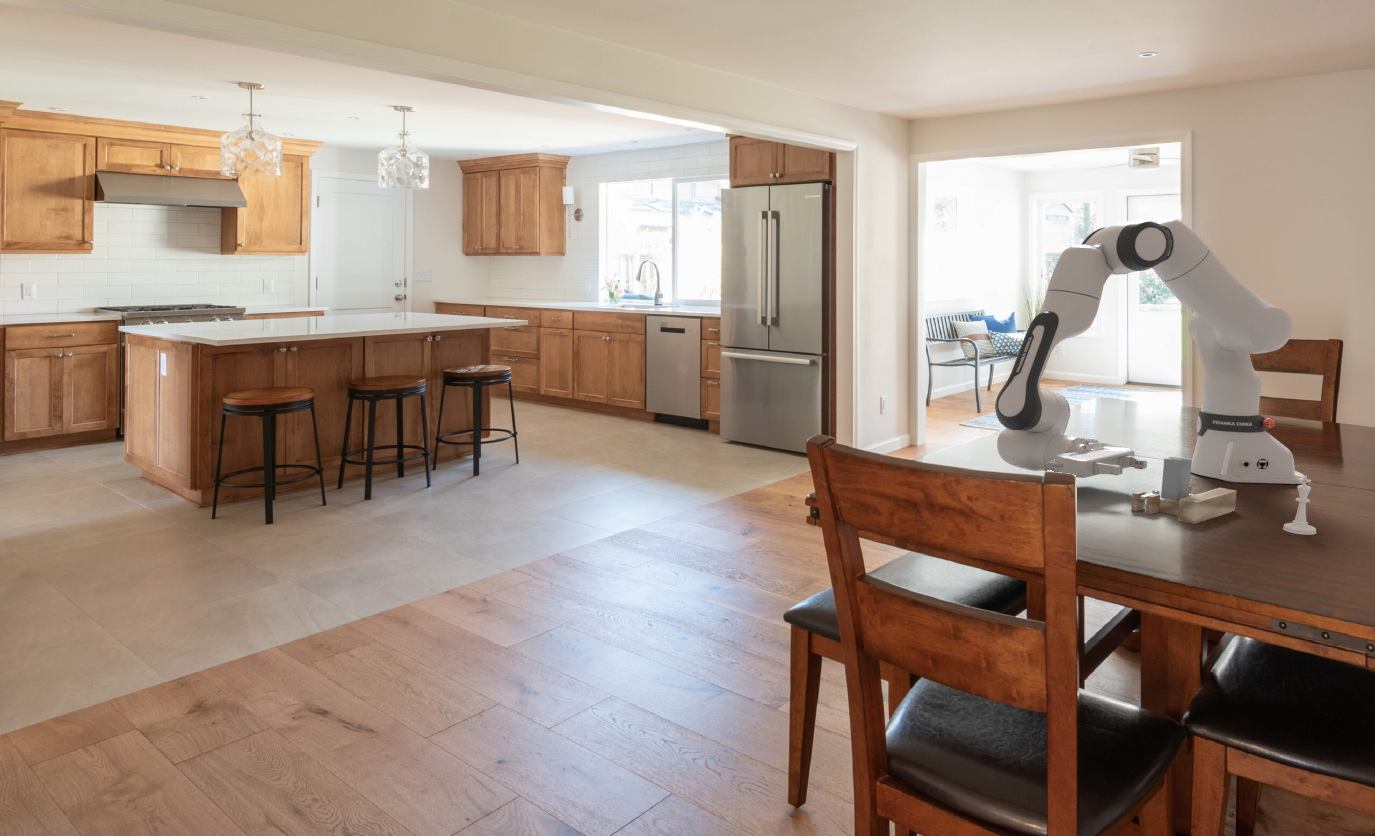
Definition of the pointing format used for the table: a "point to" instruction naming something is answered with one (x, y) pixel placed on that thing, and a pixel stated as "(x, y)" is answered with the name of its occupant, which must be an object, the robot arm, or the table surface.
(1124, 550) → the table surface
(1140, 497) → the plunger
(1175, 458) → the peg
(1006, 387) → the robot arm
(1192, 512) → the light wooden frame
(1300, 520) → the chess piece
